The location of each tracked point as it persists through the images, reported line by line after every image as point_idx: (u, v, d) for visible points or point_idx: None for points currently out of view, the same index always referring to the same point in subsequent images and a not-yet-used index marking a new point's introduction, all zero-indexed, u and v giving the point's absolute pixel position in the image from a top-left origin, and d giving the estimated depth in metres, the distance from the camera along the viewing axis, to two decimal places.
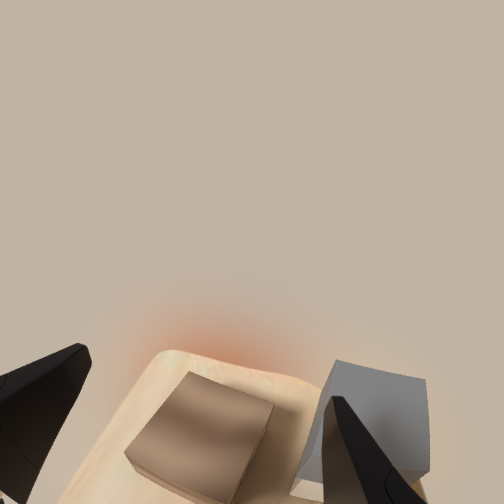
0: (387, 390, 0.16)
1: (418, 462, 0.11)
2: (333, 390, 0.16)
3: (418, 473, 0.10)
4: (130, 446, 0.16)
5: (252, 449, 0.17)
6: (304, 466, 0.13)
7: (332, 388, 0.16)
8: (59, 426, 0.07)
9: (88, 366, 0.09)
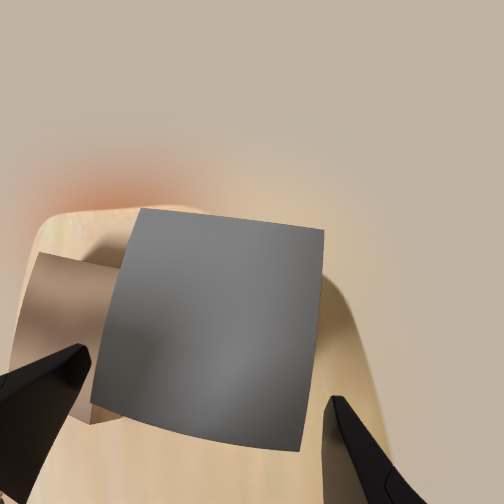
0: (228, 263, 0.10)
1: (276, 434, 0.08)
2: (124, 275, 0.10)
3: None
4: (10, 370, 0.13)
5: None
6: None
7: (123, 271, 0.10)
8: (59, 426, 0.07)
9: (88, 366, 0.09)
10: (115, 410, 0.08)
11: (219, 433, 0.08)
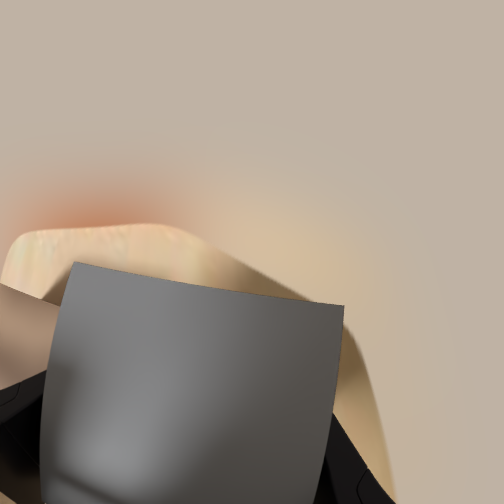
0: (192, 363, 0.06)
1: None
2: (55, 363, 0.06)
3: None
4: None
5: None
6: None
7: (54, 356, 0.06)
8: None
9: None
10: None
11: None
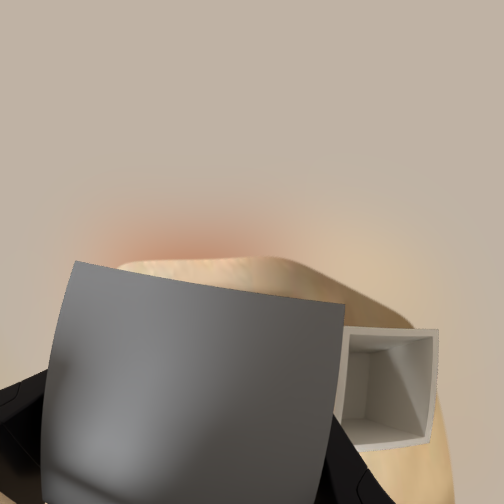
0: (193, 362, 0.06)
1: None
2: (56, 362, 0.06)
3: None
4: None
5: None
6: None
7: (55, 355, 0.06)
8: None
9: None
10: None
11: None
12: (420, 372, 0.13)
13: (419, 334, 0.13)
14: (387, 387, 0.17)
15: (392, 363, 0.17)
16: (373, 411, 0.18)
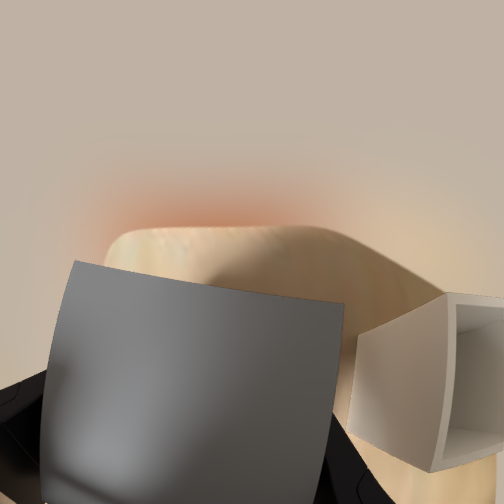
0: (192, 361, 0.06)
1: None
2: (55, 361, 0.06)
3: None
4: None
5: None
6: None
7: (55, 354, 0.06)
8: None
9: None
10: None
11: None
12: None
13: None
14: (458, 382, 0.12)
15: (465, 351, 0.12)
16: None
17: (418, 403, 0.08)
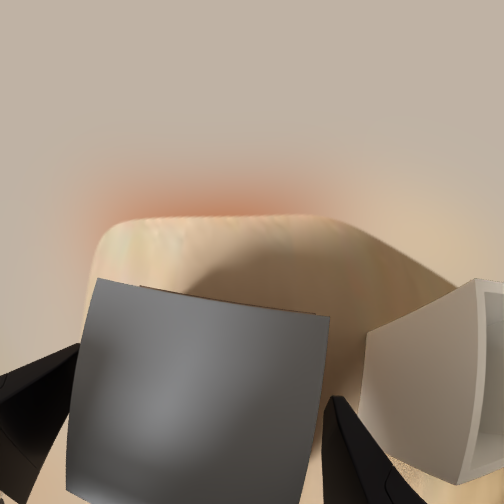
0: (204, 364, 0.07)
1: None
2: (83, 366, 0.07)
3: None
4: None
5: None
6: None
7: (82, 360, 0.07)
8: (59, 426, 0.07)
9: None
10: (92, 502, 0.05)
11: None
12: None
13: None
14: None
15: None
16: None
17: (442, 407, 0.07)
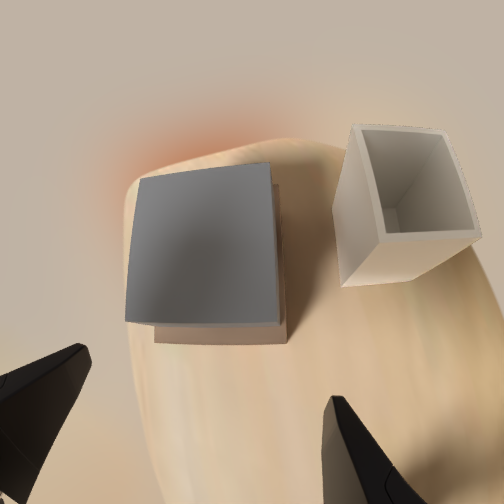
0: (205, 198, 0.14)
1: (257, 309, 0.12)
2: (137, 225, 0.14)
3: (265, 322, 0.13)
4: (156, 331, 0.17)
5: (281, 257, 0.17)
6: None
7: (136, 222, 0.15)
8: (59, 426, 0.07)
9: (88, 366, 0.09)
10: (144, 319, 0.13)
11: (217, 316, 0.12)
12: (444, 175, 0.13)
13: (428, 131, 0.12)
14: (421, 222, 0.17)
15: (417, 195, 0.17)
16: None
17: (361, 206, 0.13)
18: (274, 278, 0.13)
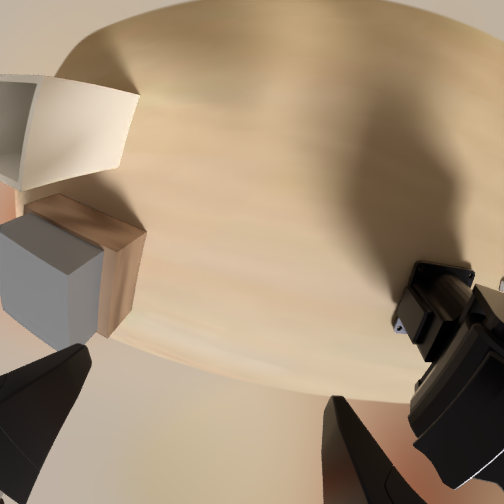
0: (9, 278, 0.15)
1: (60, 283, 0.14)
2: (24, 324, 0.16)
3: (71, 280, 0.14)
4: (100, 333, 0.20)
5: (62, 226, 0.17)
6: (83, 344, 0.18)
7: (22, 324, 0.16)
8: (59, 426, 0.07)
9: (88, 366, 0.09)
10: None
11: (64, 308, 0.15)
12: None
13: None
14: None
15: None
16: None
17: None
18: (45, 262, 0.14)
